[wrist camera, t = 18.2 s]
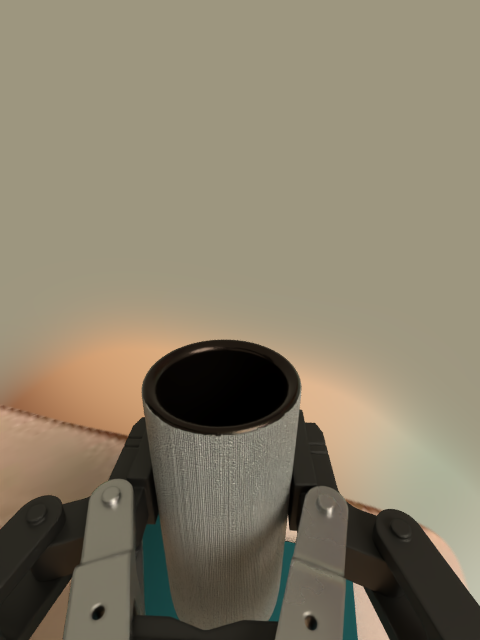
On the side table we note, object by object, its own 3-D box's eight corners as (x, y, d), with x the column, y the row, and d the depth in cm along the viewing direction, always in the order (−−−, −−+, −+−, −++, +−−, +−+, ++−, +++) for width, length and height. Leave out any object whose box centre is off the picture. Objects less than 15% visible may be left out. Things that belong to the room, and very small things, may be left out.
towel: (39, 748, 13) (36, 745, 13) (149, 515, 22) (148, 510, 22) (375, 879, 11) (378, 876, 11) (349, 559, 20) (350, 554, 20)
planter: (173, 667, 11) (136, 449, 7) (169, 536, 15) (143, 345, 11) (295, 629, 12) (331, 416, 8) (261, 516, 16) (272, 332, 12)
